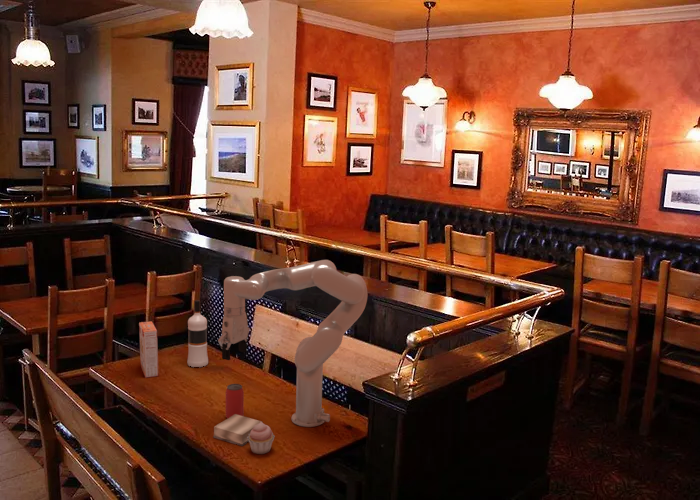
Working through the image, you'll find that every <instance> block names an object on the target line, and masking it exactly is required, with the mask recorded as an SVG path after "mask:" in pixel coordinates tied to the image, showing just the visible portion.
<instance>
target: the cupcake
mask: <svg viewBox="0 0 700 500" xmlns="http://www.w3.org/2000/svg"><path fill="white" fill-rule="evenodd" d="M247 439H248V440H249V442H248V443H249V446H250V449H251V452H252V453H253V454H257V455H264V454H268V453H269V452H270V451H271V448H272V445H273V442H274V439H275V435H274V433H273V431H272V429H271V427H270V426H269V425H267V424H265V423H263V421H262V422H260V423H259V424H257V425H255V426H254V427H253V429H252V430H251V432H250V434H249V436H248V437H247Z"/></svg>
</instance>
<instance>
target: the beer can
mask: <svg viewBox="0 0 700 500" xmlns="http://www.w3.org/2000/svg"><path fill="white" fill-rule="evenodd" d="M244 393H245V392H244V389H243V385H242V384H240V383H231V384H229V385H227V386H226V389H225V417H226V418H227V419H228V418H229V417H231V416H233V415H234V414H237V415H240V416H245V415H244V413H245V412H244V407H245V405H244V404H245V403H244V402H245V401H244V399H245V398H244V396H245V395H244Z"/></svg>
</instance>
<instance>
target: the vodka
mask: <svg viewBox="0 0 700 500" xmlns="http://www.w3.org/2000/svg"><path fill="white" fill-rule="evenodd" d="M193 304H194V310H193V311H194V314H193V315H192V316H190V317H189V318H188V320H187V326H188V327H187V329H188V331H187V333H188V335H187V336H188V337H187V338H188V343H187V345H188V354H187V360H186V361H187V366H189V367H190V366H191V368H194V367H199V368H203V366H204V367H206V366H207V365H208V364H209V357H208V350H207V349H208V342H207V338H208V336H207V330H208V319H207V318H206V317H205V316H204V315H202V314H201V300H199V299H195V300H194V301H193Z"/></svg>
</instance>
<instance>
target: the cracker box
mask: <svg viewBox="0 0 700 500" xmlns="http://www.w3.org/2000/svg"><path fill="white" fill-rule="evenodd" d="M138 326H139V327H138V328H139V329H138V330H139V351H140V353H139V355H140V367H141V371H142V372H143V373H142V374H143V375H144V379H146V378H154V377H159V355H158V353H159V351H158V350H159V349H158V330H157V328H156V326H155V324H154V322H153V321H141V322H140V321H139V323H138Z"/></svg>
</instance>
